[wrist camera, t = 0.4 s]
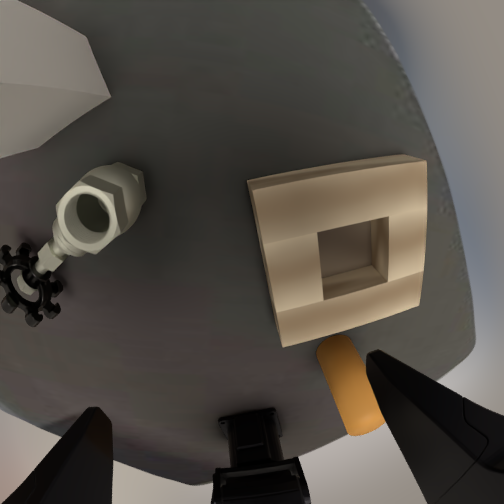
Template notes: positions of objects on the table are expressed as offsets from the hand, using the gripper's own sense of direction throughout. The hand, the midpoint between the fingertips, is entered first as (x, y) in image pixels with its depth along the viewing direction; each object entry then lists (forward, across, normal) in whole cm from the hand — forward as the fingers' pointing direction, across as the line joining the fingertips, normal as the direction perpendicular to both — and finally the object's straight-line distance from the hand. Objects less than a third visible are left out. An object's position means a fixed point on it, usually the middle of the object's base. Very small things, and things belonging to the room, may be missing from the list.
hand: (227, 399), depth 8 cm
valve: (+14, +9, -4) cm, 17 cm away
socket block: (+14, -9, +2) cm, 17 cm away
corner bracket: (+14, +11, -16) cm, 24 cm away
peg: (+14, -8, +14) cm, 21 cm away
